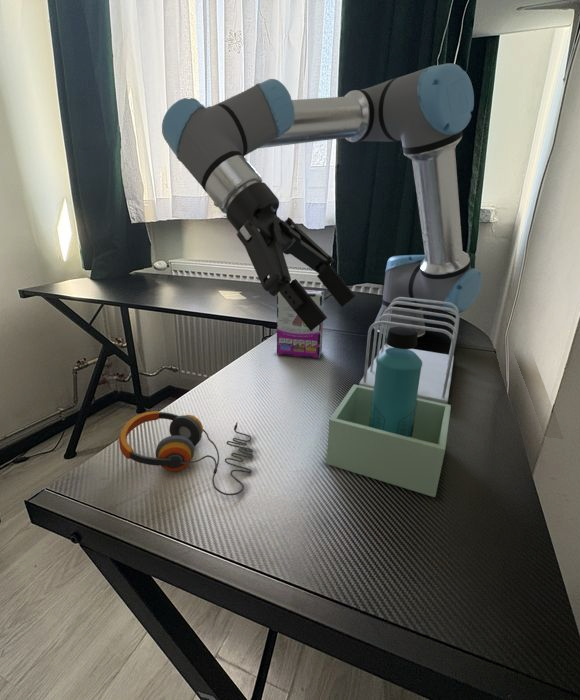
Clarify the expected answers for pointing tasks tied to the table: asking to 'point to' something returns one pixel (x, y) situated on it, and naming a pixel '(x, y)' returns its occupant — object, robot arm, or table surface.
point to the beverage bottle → (396, 384)
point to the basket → (389, 443)
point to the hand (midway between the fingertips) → (335, 312)
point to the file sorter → (433, 364)
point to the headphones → (178, 444)
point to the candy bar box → (298, 329)
